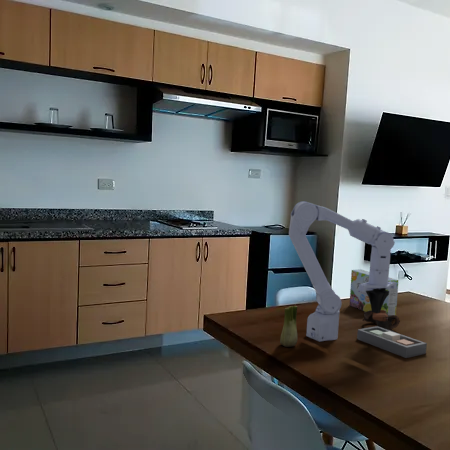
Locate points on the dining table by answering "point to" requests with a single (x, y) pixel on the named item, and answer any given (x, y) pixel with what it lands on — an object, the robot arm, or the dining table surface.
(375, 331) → the key
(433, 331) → the dining table surface
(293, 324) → the fennel bulb
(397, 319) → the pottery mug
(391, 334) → the key mid
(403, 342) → the key
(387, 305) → the snack box
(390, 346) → the grey rectangular tray
